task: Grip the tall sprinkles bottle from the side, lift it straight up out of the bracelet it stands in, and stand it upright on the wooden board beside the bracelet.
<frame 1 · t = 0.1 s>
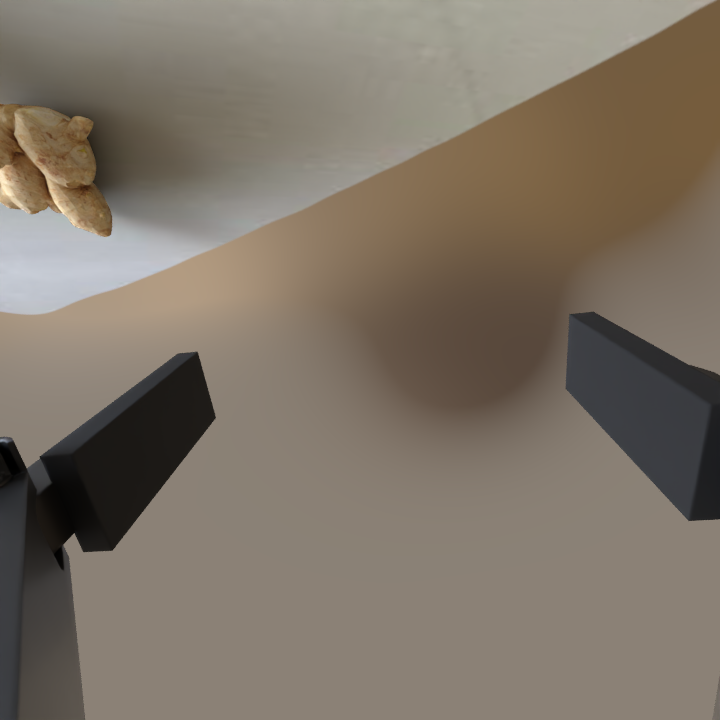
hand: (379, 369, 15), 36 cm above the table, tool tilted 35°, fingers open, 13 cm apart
ginger root: (50, 150, 45), on the table
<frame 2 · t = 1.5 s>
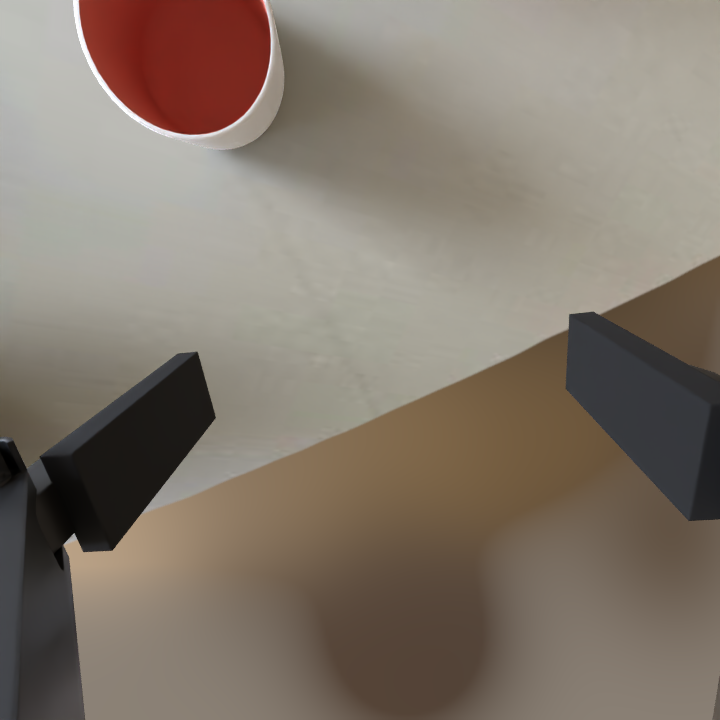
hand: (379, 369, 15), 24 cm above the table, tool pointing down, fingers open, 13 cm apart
cup: (216, 75, 31), on the table
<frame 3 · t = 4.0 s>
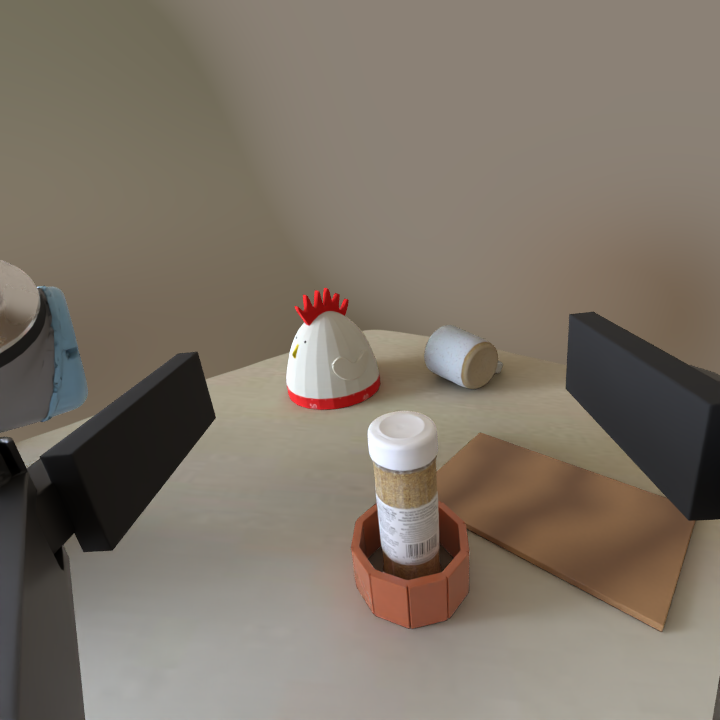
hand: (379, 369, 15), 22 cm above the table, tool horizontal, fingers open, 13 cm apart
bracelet: (411, 573, 33), on the table
ceramic mug: (467, 378, 62), on the table
sprinkles bottle: (411, 575, 33), resting in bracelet
kitchen timer: (334, 387, 64), on the table
wooden board: (544, 506, 38), on the table
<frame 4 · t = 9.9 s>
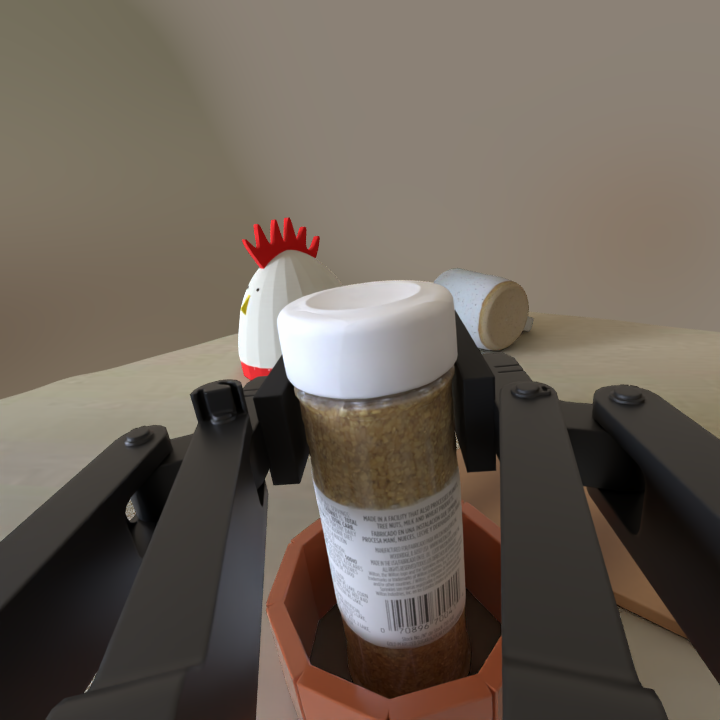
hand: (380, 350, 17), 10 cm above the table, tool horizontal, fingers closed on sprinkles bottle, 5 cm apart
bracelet: (407, 654, 15), on the table
ceramic mug: (485, 341, 46), on the table
sprinkles bottle: (407, 658, 16), resting in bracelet, touching gripper
kitchen timer: (305, 359, 47), on the table
wooden board: (652, 508, 21), on the table
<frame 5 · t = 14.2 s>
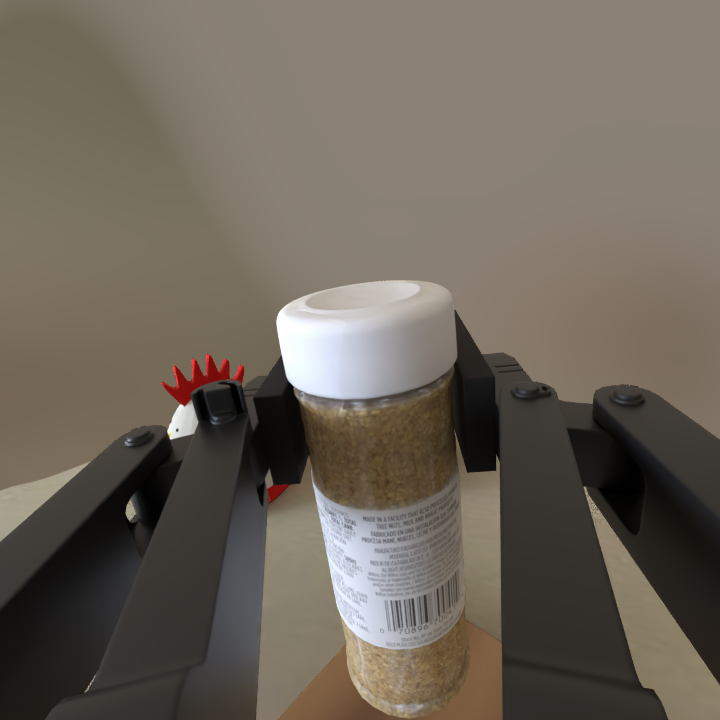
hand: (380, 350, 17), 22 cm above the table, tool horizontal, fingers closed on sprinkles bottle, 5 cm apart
sprinkles bottle: (407, 658, 16), point 12 cm above the table, touching gripper
kitchen timer: (234, 480, 48), on the table
when the fingers open (11 cm above the table, at t = 18.4 s): sprinkles bottle stays where it is, resting on wooden board.
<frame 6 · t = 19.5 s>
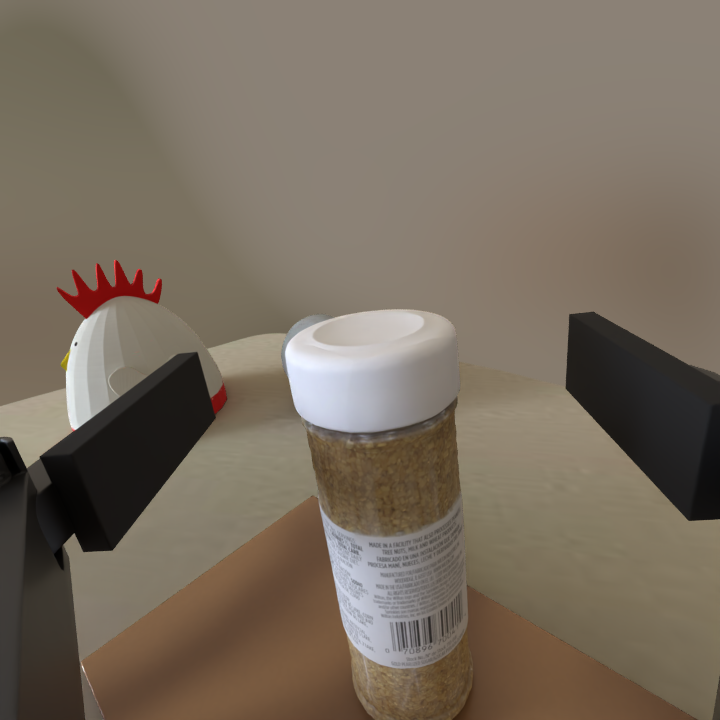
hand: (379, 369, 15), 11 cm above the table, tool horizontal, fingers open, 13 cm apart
ceramic mug: (352, 396, 41), on the table
sprinkles bottle: (411, 673, 16), resting on wooden board
kitchen timer: (156, 414, 42), on the table
wooden board: (356, 706, 15), on the table
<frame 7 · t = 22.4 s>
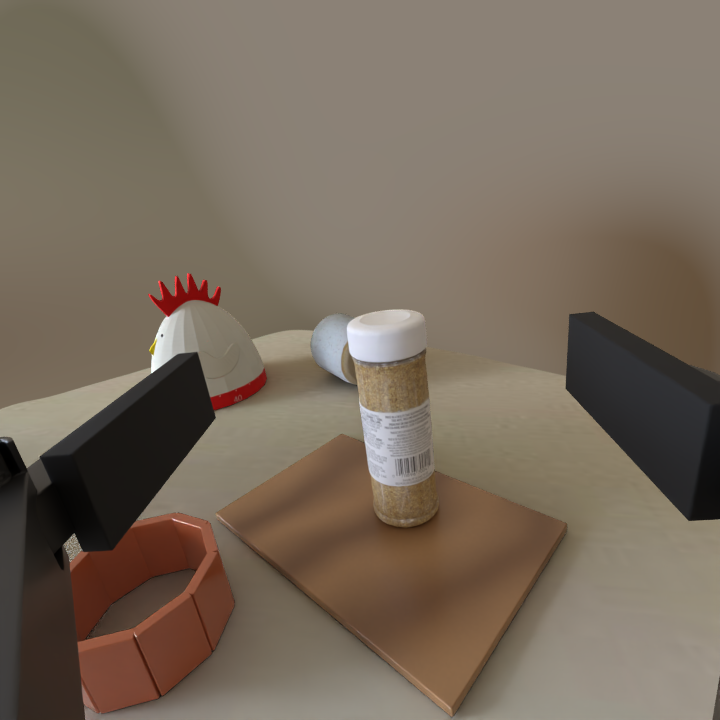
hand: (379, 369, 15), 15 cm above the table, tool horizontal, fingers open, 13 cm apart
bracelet: (155, 624, 23), on the table
ceramic mug: (363, 375, 54), on the table
sprinkles bottle: (405, 509, 29), resting on wooden board
kitchen timer: (214, 390, 55), on the table
wooden board: (376, 524, 28), on the table
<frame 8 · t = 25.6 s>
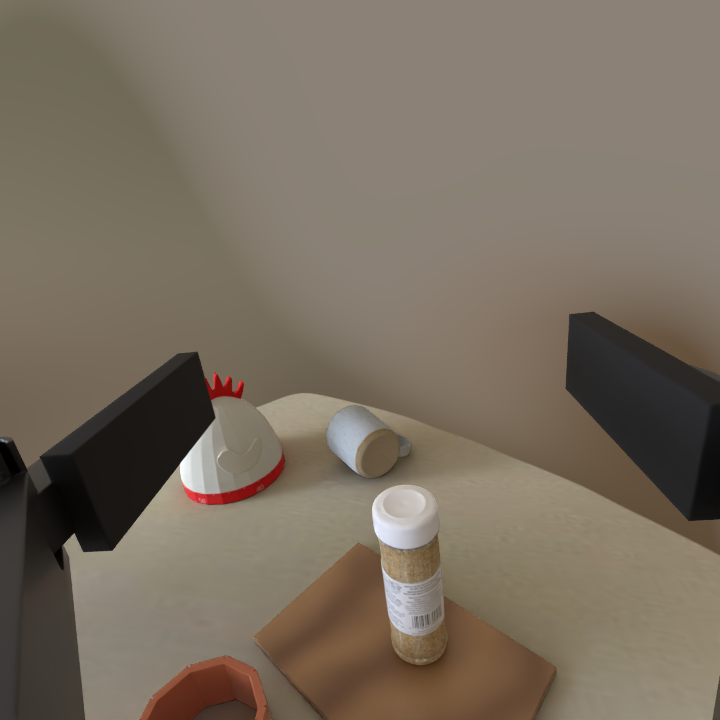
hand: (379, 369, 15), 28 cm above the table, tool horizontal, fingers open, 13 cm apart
ceramic mug: (374, 461, 58), on the table
sprinkles bottle: (419, 641, 34), resting on wooden board
kitchen timer: (236, 472, 60), on the table
wooden board: (393, 655, 33), on the table
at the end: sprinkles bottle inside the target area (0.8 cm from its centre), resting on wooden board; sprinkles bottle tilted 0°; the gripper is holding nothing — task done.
